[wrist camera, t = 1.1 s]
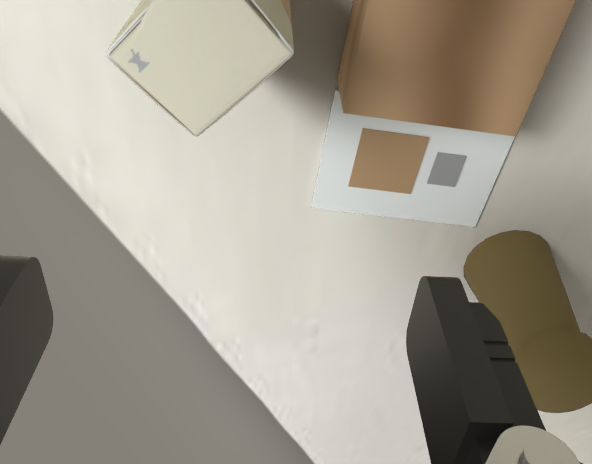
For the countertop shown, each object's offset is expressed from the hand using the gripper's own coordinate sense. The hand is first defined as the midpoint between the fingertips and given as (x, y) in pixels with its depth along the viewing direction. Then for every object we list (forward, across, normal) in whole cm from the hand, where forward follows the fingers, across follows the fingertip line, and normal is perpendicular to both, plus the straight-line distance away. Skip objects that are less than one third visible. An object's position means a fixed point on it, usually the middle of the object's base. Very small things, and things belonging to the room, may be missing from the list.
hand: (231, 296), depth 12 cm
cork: (+22, -18, +16) cm, 32 cm away
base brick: (+21, -9, -1) cm, 23 cm away
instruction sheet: (+21, -9, +8) cm, 24 cm away
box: (+21, +2, -2) cm, 21 cm away
